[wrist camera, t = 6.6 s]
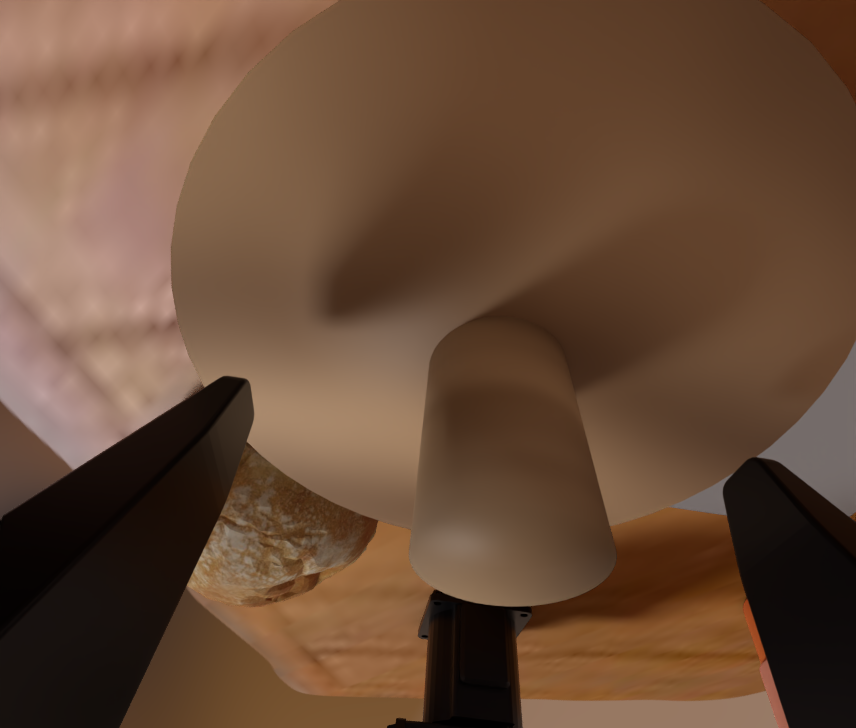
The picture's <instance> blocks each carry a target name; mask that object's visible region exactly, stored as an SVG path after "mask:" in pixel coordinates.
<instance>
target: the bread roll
mask: <svg viewBox="0 0 856 728" xmlns="http://www.w3.org/2000/svg"><path fill="white" fill-rule="evenodd" d="M377 522H378V520H376V519H373V518H370V517H367V516H364V515H361V514H359V513H356V512H354V511H352V510H349V509H347V508H345V507H342V506H340V505H337V504H335V503H333V502H331V501H329V500H328V499H326V498H324V497H322V496H320V495H318V494H316V493H314V492H312V491H310V490H309V489H307V488H306V487H304V486H303V485H301V484H299V483H298V482H296V481H295V480H293V479H292V478H290V477H289V476H287V475H286V474H284V473H283V472H282V471H280V470H279V469H278V468H277V467H275V466H274V465H273V464H271V463H270V462H269V461H268V460H266V459H265V458H264V457H263V456H261V455H260V454H259V453H258V452H257V451H256V450H255V449H254V448H253V447H252V446H251V445H250V444H249V443H248V442H246V445H245V448H244V451H243V454H242V457H241V460H240V463H239V466H238V469H237V472H236V475H235V478H234V481H233V484H232V487H231V490H230V492H229V495H228V498H227V500H226V503H225V505H224V508H223V510H222V512H221V514H220V516H219V519H218V521H217V523H216V525H215V527H214V529H213V531H212V533H211V535H210V538H209V540H208V542H207V544H206V546H205V548H204V550H203V552H202V554H201V557H200V559H199V561H198V563H197V565H196V567H195V569H194V571H193V573H192V575H191V578H190V580H189V582H188V584H187V586H189V587H190V588H192V589H193V590H195V591H197V592H198V593H200V594H202V595H203V596H204V597H206V598H208V599H212V600H215V601H219V602H222V603H224V604H226V605H231V606H241V607H262V606H265V605H269V604H273V603H277V602H281V601H285V600H288V599H291V598H293V597H296V596H299V595H301V594H304V593H306V592H308V591H310V590H312V589H313V588H314V587H315V586H316V585H318V584H319V583H321V582H322V581H323V580H324V579H327V578H329V577H331V576H332V575H333V574H335V573H337V572H339V571H341V570H343V569H344V568H345V567H347V566H349V565H351V564H352V563H354V562H355V561H356V560H357V559H358V558H359V557H360V555H361V554H362V553H363V552H364V551H365V550H366V546H367V545H368V543H369V542H370V541H371V539H372V538H373V537H374V535H375V532H376V527H377Z"/></svg>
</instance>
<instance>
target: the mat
mask: <svg viewBox="0 0 856 728" xmlns="http://www.w3.org/2000/svg"><path fill="white" fill-rule="evenodd" d="M757 457H759V458H765V459H772V460H775V461H778V462H780V463H781V464H783V465H784V466H785V467H786V468H788V469H789V470H790V471H791V472H793V473H794V474H795V475H797V476H798V477H799V478H800V479H802V480H803V481H804V482H805V483H807V484H808V485H809V486H811V487H812V488H813V489H814V490H816V491H817V492H818V493H819V494H821V495H822V496H823V497H825V498H826V499H827V500H828V501H830V502H831V503H832V504H833V505H835V506H836V507H837V508H839V509H840V510H841V511H842V512H844V513H845V514H846V515H847V516H849V517H850V516H851V515H852V514H854V513H855V512H856V341H855V343H854V345H853V347H852V349H851V351H850V353H849V355H848V357H847V359H846V360H845V362H844V363H843V365H842V366H841V368H840V369H839V371H838V372H837V374H836V375H835V376H834V378H833V379H832V381H831V382H830V384H829V385H828V387H827V388H826V390H825V391H824V392H823V393H822V395H821V396H820V397H819V398H818V399H817V400H816V401H815V403H814V404H813V405H812V406H811V407H810V408H809V409H808V411H807V412H806V413H805V414H804V415H803V416H802V417H801V418H800V420H799V421H798V422H797V423H796V424H794V425H793V426H792V427H791V428H790V429H789V430H788V431H787V432H786V433H785V434H784V435H782V436H781V437H780V438H779V439H778V440H777V441H776V442H775V443H774V444H773V445H771V446H770V447H769V448H768V449H766V450H765V451H764V452H762V453H761V454H760V455H758V456H757ZM732 475H733V474H731V475H729V476H728V477H726V478H724V479H723V480H721V481H720V482H718V483H716V484H715V485H713V486H711V487H709V488H707V489H705V490H703V491H701V492H699V493H697V494H695V495H693V496H691V497H689V498H688V499H686V500H684V501H682V502H679V503H677V504H674V505H672V506H669V507H673V508H680V509H686V510H693V511H700V512H706V513H713V514H720V515H727V513H726V509H725V504H724V499H723V486H724V484H725V482H726V481H727V480H728V479H729V478H730V477H731V476H732Z"/></svg>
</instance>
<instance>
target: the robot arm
mask: <svg viewBox="0 0 856 728" xmlns="http://www.w3.org/2000/svg"><path fill="white" fill-rule="evenodd" d="M253 421H254V406H253V399H252V392H251V385H250V382H249V381H248V380H247V379H245V378H240V377H234V376H222V377H220V378H218V379H217V380H215V381H214V382H212V383H211V384H209V385H207V386H206V387H204V388H203V389H201V390H199V391H198V392H196V393H195V394H193V395H192V396H190V397H188V398H187V399H185V400H184V401H182V402H181V403H179V404H177V405H176V406H174V407H173V408H171V409H169V410H168V411H166V412H165V413H163V414H162V415H160V416H158V417H157V418H155V419H154V420H152V421H151V422H149V423H147V424H146V425H144V426H143V427H141V428H140V429H138V430H136V431H135V432H133V433H132V434H130V435H128V436H127V437H125V438H124V439H122V440H121V441H119V442H117V443H116V444H114V445H113V446H111V447H110V448H108V449H106V450H105V451H103V452H102V453H100V454H99V455H97V456H95V457H94V458H92V459H91V460H89V461H87V462H86V463H84V464H83V465H81V466H80V467H78V468H76V469H75V470H73V471H72V472H70V473H69V474H67V475H65V476H64V477H63V478H61V479H59V480H58V481H56V482H55V483H53V484H51V485H50V486H48V487H46V488H45V489H43V490H42V491H40V492H39V493H37V494H35V495H34V496H32V497H31V498H29V499H28V500H26V501H24V502H23V503H21V504H20V505H18V506H17V507H15V508H13V509H12V510H10V511H9V512H7V513H6V514H4V515H3V517H2V520H0V728H119V727H120V725H121V723H122V721H123V719H124V717H125V715H126V712H127V710H128V708H129V706H130V703H131V702H132V700H133V698H134V696H135V694H136V691H137V689H138V687H139V685H140V683H141V681H142V679H143V677H144V675H145V672H146V670H147V668H148V666H149V664H150V662H151V660H152V658H153V656H154V653H155V651H156V649H157V647H158V645H159V643H160V640H161V639H162V637H163V634H164V632H165V630H166V628H167V626H168V624H169V622H170V619H171V618H172V616H173V613H174V611H175V609H176V607H177V605H178V603H179V601H180V599H181V596H182V594H183V592H184V590H185V588H186V586H187V584H188V582H189V580H190V578H191V575H192V573H193V571H194V569H195V567H196V565H197V563H198V561H199V559H200V557H201V554H202V552H203V550H204V548H205V546H206V544H207V542H208V540H209V538H210V535H211V533H212V531H213V529H214V527H215V525H216V523H217V521H218V519H219V516H220V514H221V512H222V510H223V508H224V505H225V503H226V500H227V498H228V495H229V492H230V490H231V487H232V484H233V481H234V478H235V475H236V472H237V469H238V466H239V463H240V460H241V457H242V454H243V451H244V448H245V445H246V442H247V439H248V436H249V434H250V431H251V428H252V425H253ZM723 499H724V504H725V509H726V513H727V518H728V523H729V527H730V532H731V537H732V541H733V546H734V551H735V555H736V560H737V565H738V569H739V573H740V577H741V580H742V584H743V587H744V590H745V593H746V596H747V600H748V603H749V606H750V609H751V612H752V615H753V618H754V621H755V624H756V628H757V631H758V634H759V637H760V640H761V643H762V646H763V649H764V652H765V655H766V659H767V662H768V665H769V668H770V671H771V674H772V677H773V680H774V683H775V687H776V690H777V693H778V696H779V699H780V702H781V705H782V708H783V711H784V714H785V718H786V721H787V724H788V727H789V728H856V522H855V521H854V520H853V519H851V518H850V517H849V516H847V515H846V514H845V513H844V512H842V511H841V510H840V509H839V508H837V507H836V506H835V505H833V504H832V503H831V502H830V501H828V500H827V499H826V498H825V497H823V496H822V495H821V494H819V493H818V492H817V491H816V490H814V489H813V488H812V487H811V486H809V485H808V484H807V483H805V482H804V481H803V480H802V479H800V478H799V477H798V476H797V475H795V474H794V473H793V472H791V471H790V470H789V469H788V468H786V467H785V466H784V465H783V464H781V463H780V462H778V461H775V460H772V459H765V458H759V457H752V458H749V459H747V460H746V461H745V462H744V463H743V464H742V465H741V466H740V467H739V468H738V469H737V470H736V471H735V472H734V473H733V475H732V476H731V477H730V478H729V479H728V480H727V481H726V482H725V484H724V486H723ZM531 617H532V609H531V607H529V606H495V605H486V604H480V603H474V602H470V601H466V600H462V599H459V598H456V597H453V596H450V595H447V594H439V593H435V594H431V595H430V597H429V600H428V603H427V606H426V609H425V612H424V615H423V618H422V620H421V623H420V626H419V629H418V637H419V638H421V639H427V640H428V647H427V662H426V678H425V694H424V710H423V722H417V721H406V719H403V718H397V719H396V724H393V725H389V726H387V728H523V727H522V713H521V699H520V685H519V671H518V657H517V643H516V638H517V636H518V635H519V633H520V632H521V631H522V629H523V628H524V627H525V625H526V624H527V622H528V621H529V620H530V618H531Z"/></svg>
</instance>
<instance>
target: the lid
mask: <svg viewBox="0 0 856 728" xmlns="http://www.w3.org/2000/svg"><path fill="white" fill-rule="evenodd" d="M171 281H172V292H173V298H174V303H175V309H176V315H177V320H178V325H179V328H180V331H181V334H182V337H183V340H184V343H185V346H186V349H187V352H188V355H189V357H190V359H191V361H192V363H193V365H194V367H195V369H196V371H197V373H198V375H199V377H200V379H201V382H202V384H203V386H204V387H206V386H207V385H209V384H211V383H212V382H214V381H215V380H217V379H218V378H220V377H222V376H234V377H240V378H245V379H247V380H248V381H249V382H250V385H251V392H252V399H253V406H254V421H253V425H252V428H251V431H250V434H249V436H248V439H247V442H248V443H249V444H250V445H251V446H252V447H253V448H254V449H255V450H256V451H257V452H258V453H259V454H260V455H261V456H263V457H264V458H265V459H266V460H268V461H269V462H270V463H271V464H273V465H274V466H275V467H277V468H278V469H279V470H280V471H282V472H283V473H284V474H286V475H287V476H289V477H290V478H292V479H293V480H295V481H296V482H298V483H299V484H301V485H303V486H304V487H306V488H307V489H309V490H310V491H312V492H314V493H316V494H318V495H320V496H322V497H324V498H326V499H328V500H329V501H331V502H333V503H335V504H337V505H340V506H342V507H345V508H347V509H349V510H352V511H354V512H356V513H359V514H361V515H364V516H367V517H370V518H373V519H376V520H379V521H382V522H385V523H388V524H391V525H395V526H399V527H403V528H407V529H411V539H410V548H409V559H410V563H411V565H412V568H413V569H414V571H415V572H416V574H417V575H418V576H419V577H420V578H421V579H422V580H424V581H425V582H426V583H427V584H429V585H430V586H432V587H434V588H435V589H437V590H439V591H441V592H443V593H445V594H448V595H450V596H453V597H456V598H459V599H462V600H466V601H470V602H474V603H480V604H486V605H495V606H535V605H544V604H550V603H555V602H559V601H563V600H567V599H570V598H573V597H576V596H579V595H581V594H583V593H586V592H588V591H589V590H591V589H593V588H595V587H596V586H598V585H599V584H600V583H602V582H603V581H604V580H605V579H606V578H607V577H608V576H609V575H610V573H611V572H612V571H613V569H614V566H615V564H616V559H617V554H616V548H615V544H614V540H613V536H612V532H611V529H610V526H613V525H617V524H621V523H624V522H627V521H631V520H634V519H637V518H640V517H643V516H646V515H649V514H652V513H655V512H657V511H659V510H662V509H664V508H667V507H669V506H672V505H674V504H677V503H679V502H682V501H684V500H686V499H688V498H689V497H691V496H693V495H695V494H697V493H699V492H701V491H703V490H705V489H707V488H709V487H711V486H713V485H715V484H716V483H718V482H720V481H721V480H723V479H724V478H726V477H728V476H729V475H731V474H733V473H734V472H735V471H736V470H737V469H738V468H739V467H740V466H741V465H742V464H743V463H744V462H745V461H746V460H747V459H749V458H752V457H757V456H758V455H760V454H761V453H762V452H764V451H765V450H766V449H768V448H769V447H770V446H771V445H773V444H774V443H775V442H776V441H777V440H778V439H779V438H780V437H781V436H782V435H784V434H785V433H786V432H787V431H788V430H789V429H790V428H791V427H792V426H793V425H794V424H796V423H797V422H798V421H799V420H800V418H801V417H802V416H803V415H804V414H805V413H806V412H807V411H808V409H809V408H810V407H811V406H812V405H813V404H814V403H815V401H816V400H817V399H818V398H819V397H820V396H821V395H822V393H823V392H824V391H825V390H826V388H827V387H828V385H829V384H830V382H831V381H832V379H833V378H834V376H835V375H836V374H837V372H838V371H839V369H840V368H841V366H842V365H843V363H844V362H845V360H846V359H847V357H848V355H849V353H850V351H851V349H852V347H853V345H854V343H855V341H856V104H855V102H854V100H853V98H852V96H851V94H850V92H849V90H848V88H847V87H846V86H845V84H844V83H843V82H842V81H841V79H840V78H839V77H838V75H837V74H836V73H835V72H834V70H833V69H832V68H831V67H830V65H829V64H828V63H827V62H826V60H825V59H824V58H823V57H822V55H821V54H820V53H819V51H818V50H817V49H816V48H815V46H814V45H813V44H812V43H811V42H810V41H809V40H808V39H806V38H805V37H804V36H803V35H802V34H800V33H799V32H798V31H797V30H795V29H794V28H793V27H792V26H791V25H789V24H788V23H787V22H786V21H785V20H783V19H782V18H781V17H780V16H778V15H777V14H776V13H775V12H774V11H772V10H771V9H770V8H769V7H767V6H766V5H765V4H764V3H763V2H761V1H759V0H339V1H338V2H336V3H335V4H333V5H332V6H330V7H329V8H327V9H326V10H324V11H323V12H321V13H319V14H318V15H316V16H315V17H313V18H312V19H310V20H309V21H307V22H306V23H304V24H303V25H301V26H300V27H298V28H297V29H295V30H294V31H292V32H291V33H290V34H289V35H288V36H287V37H286V38H285V39H284V40H283V41H282V42H280V43H279V44H278V45H277V46H276V47H275V48H274V49H273V50H272V51H271V52H270V53H269V54H268V55H266V56H265V57H264V58H263V59H262V60H261V61H260V62H259V63H258V64H257V65H256V66H255V67H254V68H253V69H251V70H250V71H249V72H248V73H247V75H246V76H245V77H244V79H243V80H242V81H241V83H240V84H239V85H238V87H237V88H236V89H235V90H234V92H233V93H232V94H231V96H230V97H229V98H228V100H227V101H226V102H225V104H224V105H223V106H222V108H221V109H220V110H219V111H218V113H217V114H216V115H215V117H214V119H213V121H212V122H211V124H210V126H209V128H208V130H207V132H206V134H205V136H204V138H203V140H202V142H201V143H200V145H199V147H198V149H197V151H196V153H195V155H194V157H193V159H192V161H191V163H190V166H189V170H188V173H187V176H186V179H185V182H184V185H183V188H182V191H181V194H180V198H179V201H178V204H177V208H176V215H175V222H174V229H173V236H172V243H171Z"/></svg>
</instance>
